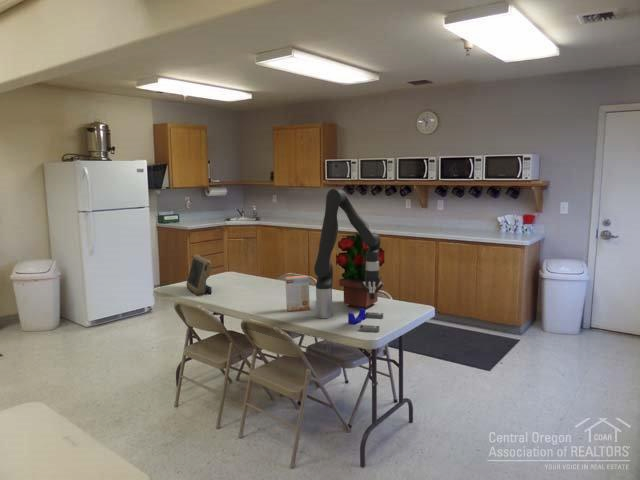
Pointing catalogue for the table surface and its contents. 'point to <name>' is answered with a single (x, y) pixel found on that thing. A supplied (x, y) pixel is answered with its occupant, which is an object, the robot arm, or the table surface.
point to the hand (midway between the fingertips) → (372, 299)
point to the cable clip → (358, 319)
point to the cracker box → (297, 293)
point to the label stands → (368, 327)
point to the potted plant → (355, 271)
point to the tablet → (199, 275)
